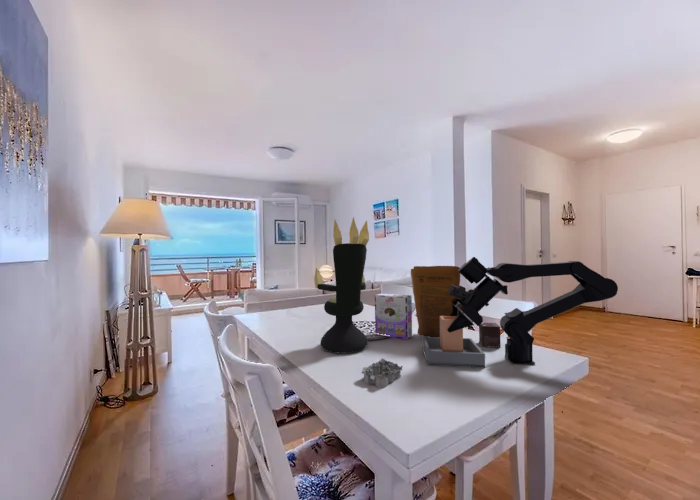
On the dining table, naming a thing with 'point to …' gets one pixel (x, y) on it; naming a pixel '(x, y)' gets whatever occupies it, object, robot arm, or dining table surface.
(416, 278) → the pancake mix bag
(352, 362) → the dining table surface
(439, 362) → the grey square tray
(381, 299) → the candy box
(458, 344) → the orange square container
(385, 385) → the grey jagged ring
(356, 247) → the candelabra
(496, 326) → the box
